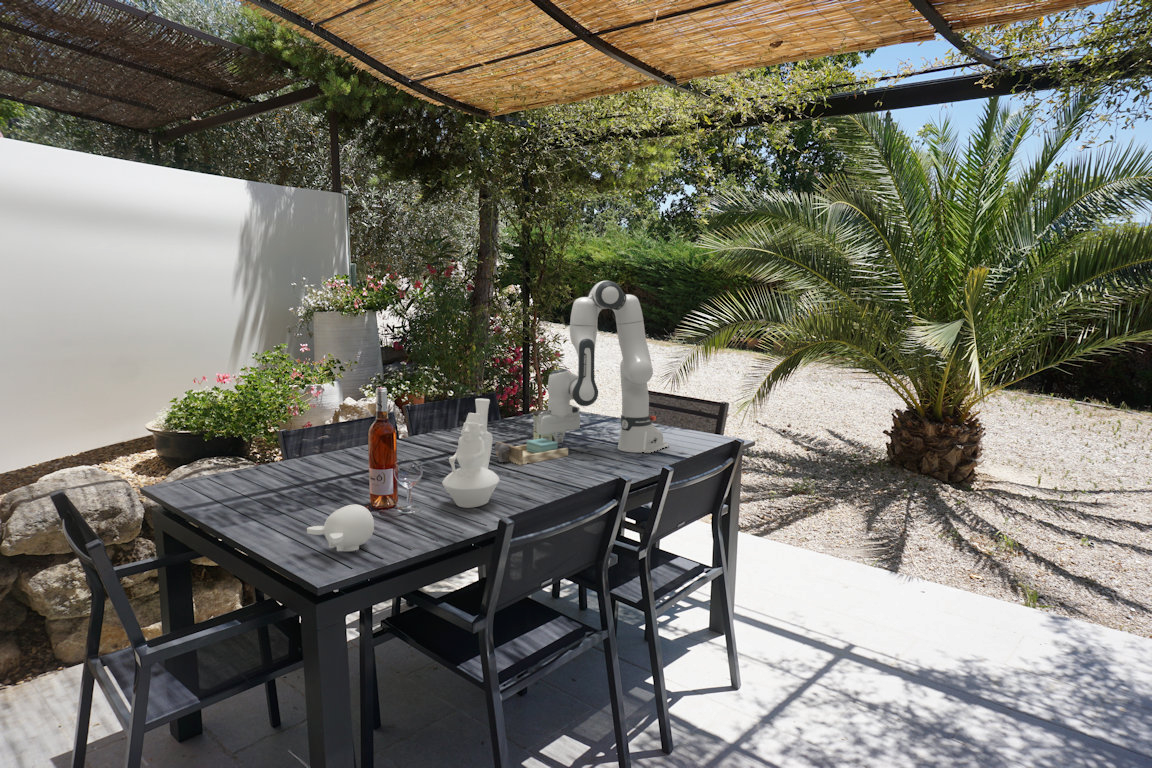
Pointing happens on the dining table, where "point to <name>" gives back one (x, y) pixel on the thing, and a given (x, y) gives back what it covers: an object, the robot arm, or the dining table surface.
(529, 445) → the teal rectangular box
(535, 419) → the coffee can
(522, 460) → the bay
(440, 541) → the dining table surface
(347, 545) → the piggy bank
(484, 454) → the white sculpted vase
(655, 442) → the robot arm
